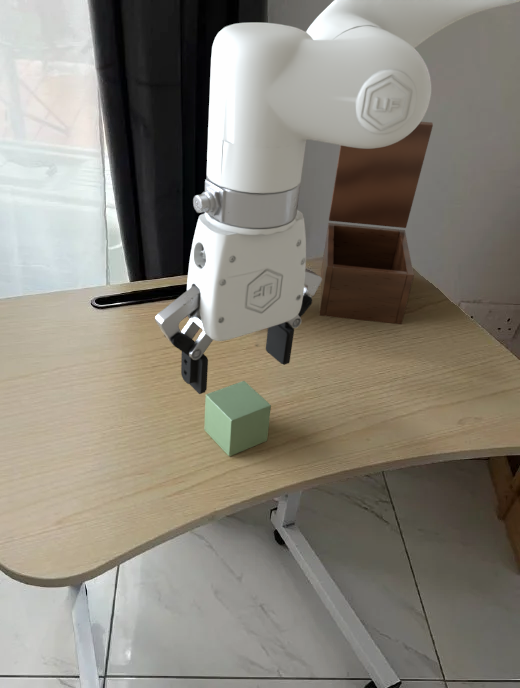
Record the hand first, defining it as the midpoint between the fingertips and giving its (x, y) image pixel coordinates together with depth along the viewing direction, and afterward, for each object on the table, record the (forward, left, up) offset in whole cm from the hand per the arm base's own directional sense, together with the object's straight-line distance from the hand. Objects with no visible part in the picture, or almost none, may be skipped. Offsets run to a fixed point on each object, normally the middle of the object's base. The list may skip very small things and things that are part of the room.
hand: (237, 371), depth 64 cm
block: (0, 0, -8) cm, 8 cm away
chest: (-14, -30, -8) cm, 34 cm away
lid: (-14, -36, +8) cm, 39 cm away
